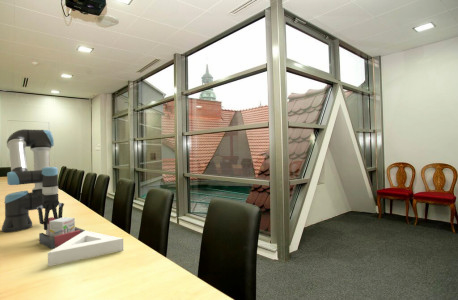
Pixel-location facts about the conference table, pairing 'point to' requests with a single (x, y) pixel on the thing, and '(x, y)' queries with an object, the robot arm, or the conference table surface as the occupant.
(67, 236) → the pull frame
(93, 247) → the triangle block
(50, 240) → the lane rails
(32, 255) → the conference table surface
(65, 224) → the ink box
